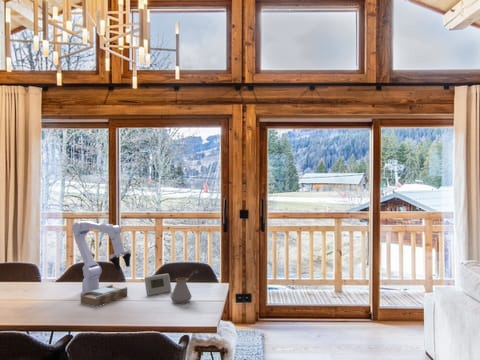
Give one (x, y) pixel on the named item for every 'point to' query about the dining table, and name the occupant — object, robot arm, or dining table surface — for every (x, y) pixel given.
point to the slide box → (103, 296)
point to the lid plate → (102, 291)
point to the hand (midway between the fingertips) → (123, 268)
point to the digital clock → (157, 284)
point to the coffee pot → (181, 291)
